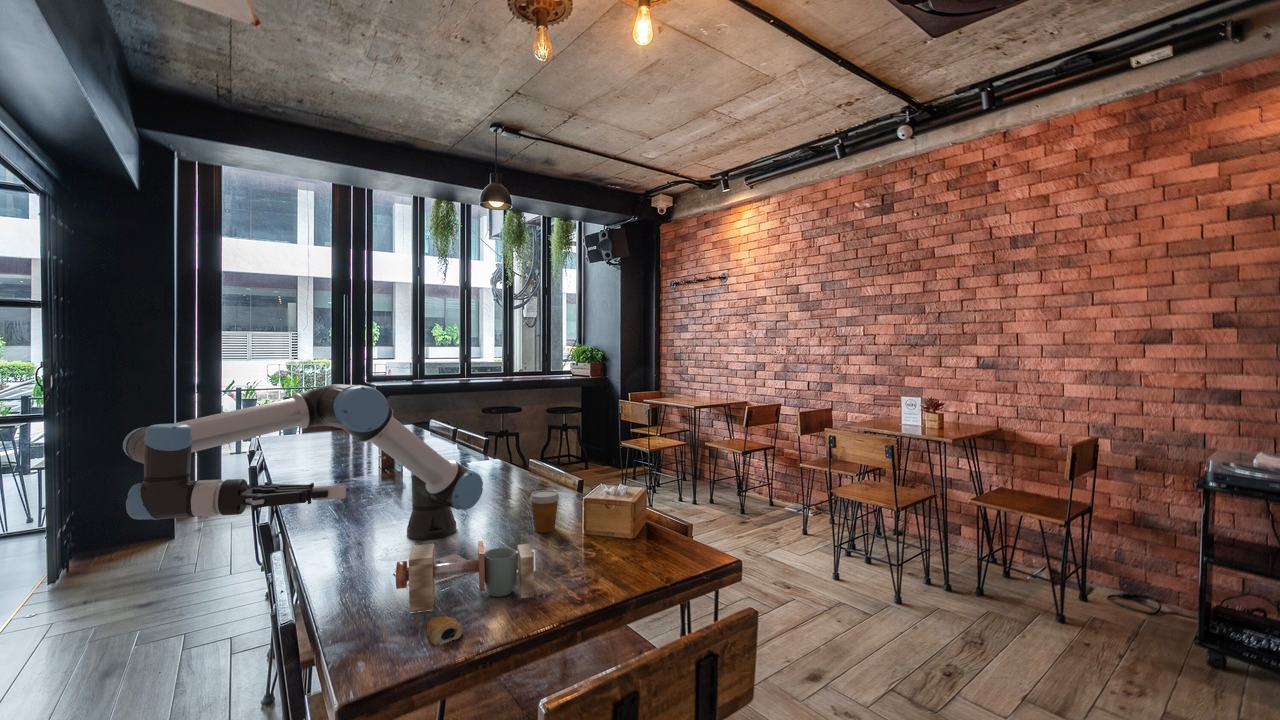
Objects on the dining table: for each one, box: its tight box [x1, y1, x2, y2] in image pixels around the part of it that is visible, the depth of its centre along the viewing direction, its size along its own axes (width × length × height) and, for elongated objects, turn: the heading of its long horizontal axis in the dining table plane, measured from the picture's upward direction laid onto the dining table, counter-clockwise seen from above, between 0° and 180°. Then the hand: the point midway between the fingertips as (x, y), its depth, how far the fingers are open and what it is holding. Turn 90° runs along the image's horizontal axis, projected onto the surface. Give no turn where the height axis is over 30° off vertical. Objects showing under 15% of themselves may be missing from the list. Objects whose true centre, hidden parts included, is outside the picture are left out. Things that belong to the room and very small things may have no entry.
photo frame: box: [393, 553, 469, 584], centre depth 153 cm, size 15×1×18 cm
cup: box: [484, 547, 518, 598], centre depth 139 cm, size 8×8×10 cm
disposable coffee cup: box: [529, 489, 560, 534], centre depth 186 cm, size 10×10×12 cm
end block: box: [517, 543, 535, 600], centre depth 141 cm, size 3×9×10 cm, turn 17°
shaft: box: [395, 540, 486, 593], centre depth 135 cm, size 20×9×9 cm, turn 107°
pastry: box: [426, 615, 464, 646], centre depth 120 cm, size 9×7×4 cm
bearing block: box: [408, 543, 436, 613], centre depth 134 cm, size 5×9×12 cm, turn 17°
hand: (345, 491), depth 129 cm, fingers closed
